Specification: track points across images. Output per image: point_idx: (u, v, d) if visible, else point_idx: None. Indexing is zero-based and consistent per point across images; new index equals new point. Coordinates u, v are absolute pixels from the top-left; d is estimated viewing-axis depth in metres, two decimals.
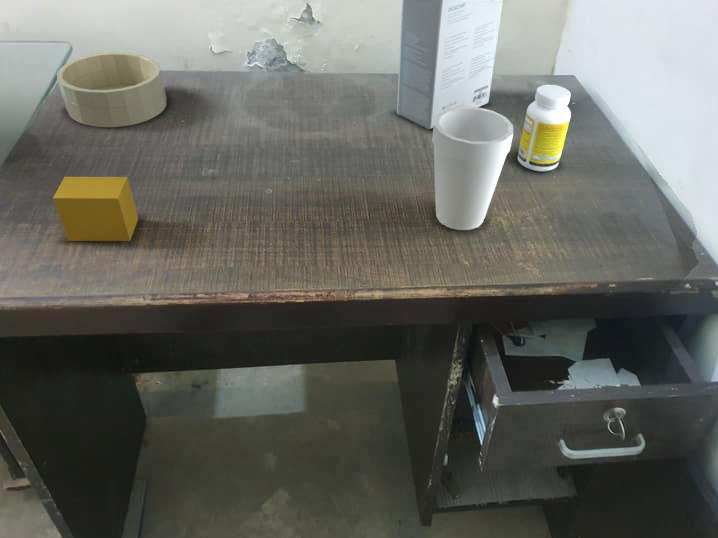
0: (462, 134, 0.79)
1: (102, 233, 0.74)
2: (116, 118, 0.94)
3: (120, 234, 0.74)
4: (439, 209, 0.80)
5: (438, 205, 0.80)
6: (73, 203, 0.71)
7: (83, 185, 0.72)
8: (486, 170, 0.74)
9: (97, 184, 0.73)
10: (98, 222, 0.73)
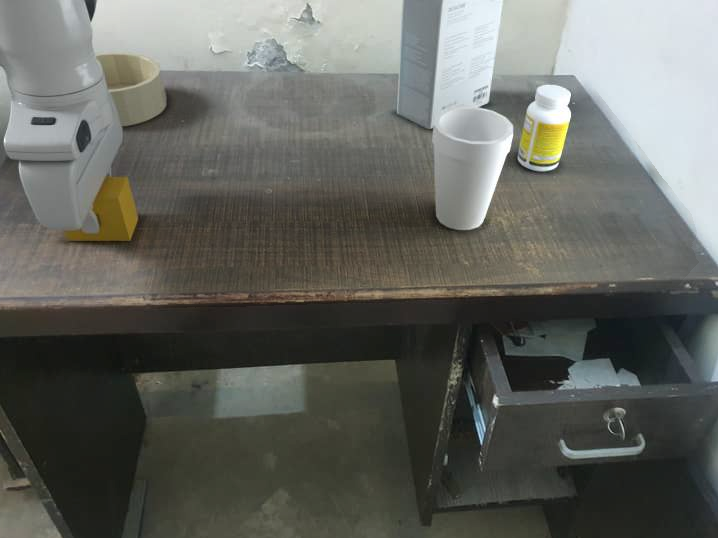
0: (462, 134, 0.79)
1: (102, 233, 0.74)
2: None
3: (121, 233, 0.74)
4: (439, 209, 0.80)
5: (438, 205, 0.80)
6: None
7: None
8: (486, 170, 0.74)
9: None
10: None
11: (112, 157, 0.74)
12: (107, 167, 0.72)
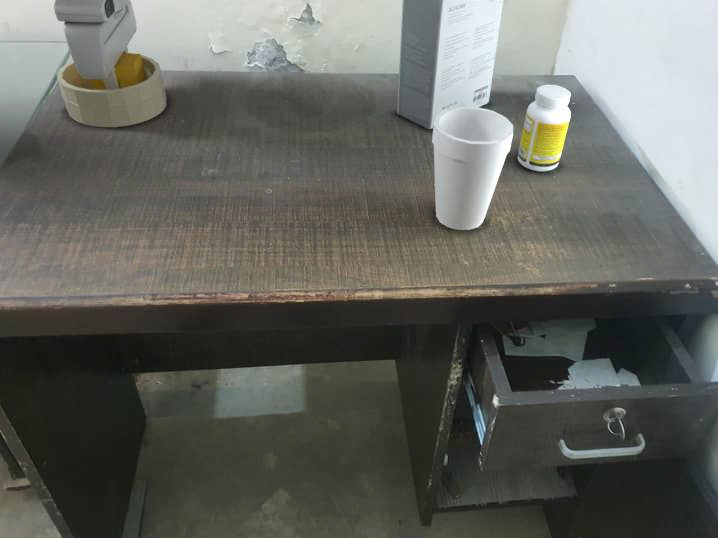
0: (462, 134, 0.79)
1: None
2: (116, 118, 0.94)
3: None
4: (439, 209, 0.80)
5: (438, 205, 0.80)
6: None
7: None
8: (486, 170, 0.74)
9: None
10: None
11: (128, 38, 0.99)
12: (125, 44, 0.97)
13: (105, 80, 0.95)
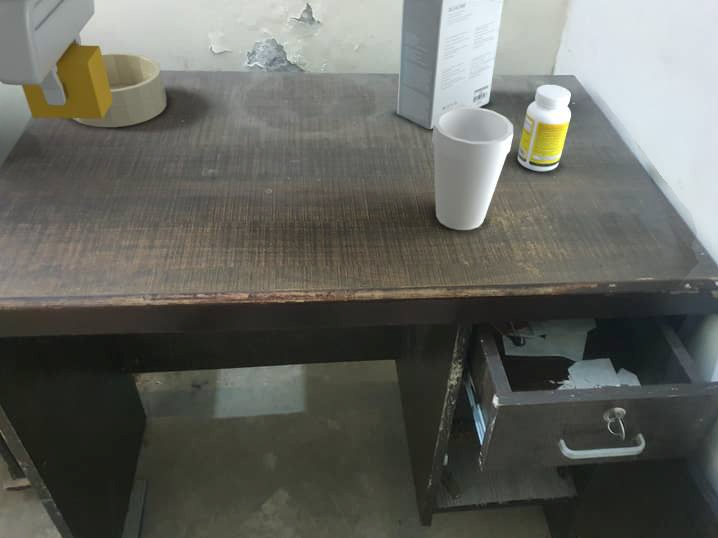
0: (462, 134, 0.79)
1: (71, 108, 0.66)
2: (116, 118, 0.94)
3: (91, 109, 0.66)
4: (439, 209, 0.80)
5: (438, 205, 0.80)
6: None
7: None
8: (486, 170, 0.74)
9: None
10: None
11: (81, 23, 0.66)
12: (74, 31, 0.64)
13: (43, 86, 0.62)
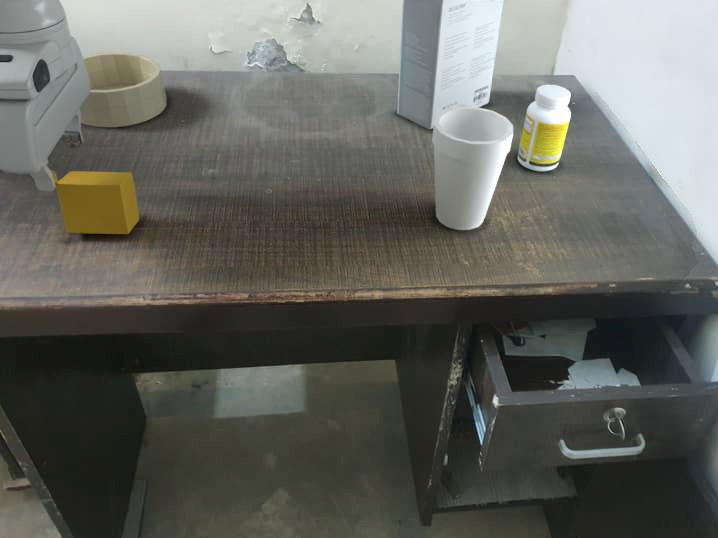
0: (462, 134, 0.79)
1: (101, 224, 0.73)
2: (116, 118, 0.94)
3: (119, 225, 0.74)
4: (439, 209, 0.80)
5: (438, 205, 0.80)
6: (75, 189, 0.71)
7: (87, 176, 0.73)
8: (486, 170, 0.74)
9: (101, 176, 0.73)
10: (98, 211, 0.73)
11: (76, 106, 0.73)
12: (70, 115, 0.71)
13: (34, 176, 0.68)
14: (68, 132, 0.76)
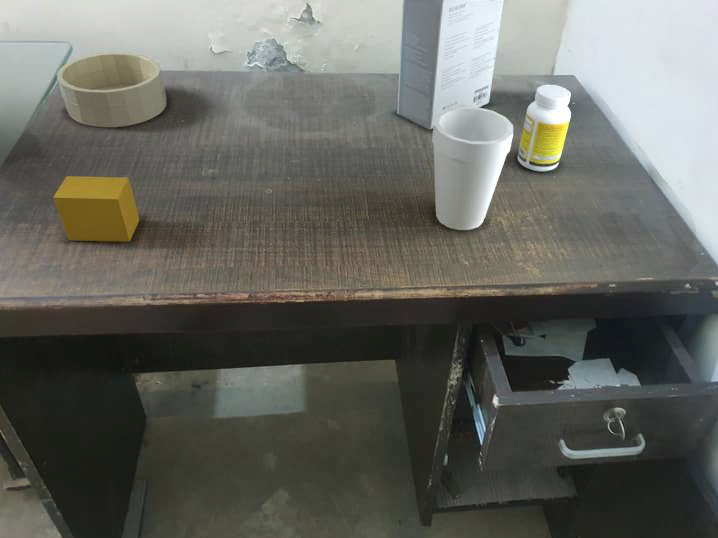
0: (462, 134, 0.79)
1: (102, 233, 0.74)
2: (116, 118, 0.94)
3: (120, 234, 0.74)
4: (439, 209, 0.80)
5: (438, 205, 0.80)
6: (73, 202, 0.71)
7: (84, 185, 0.72)
8: (486, 170, 0.74)
9: (98, 184, 0.73)
10: (98, 222, 0.73)
11: None
12: None
13: None
14: None
